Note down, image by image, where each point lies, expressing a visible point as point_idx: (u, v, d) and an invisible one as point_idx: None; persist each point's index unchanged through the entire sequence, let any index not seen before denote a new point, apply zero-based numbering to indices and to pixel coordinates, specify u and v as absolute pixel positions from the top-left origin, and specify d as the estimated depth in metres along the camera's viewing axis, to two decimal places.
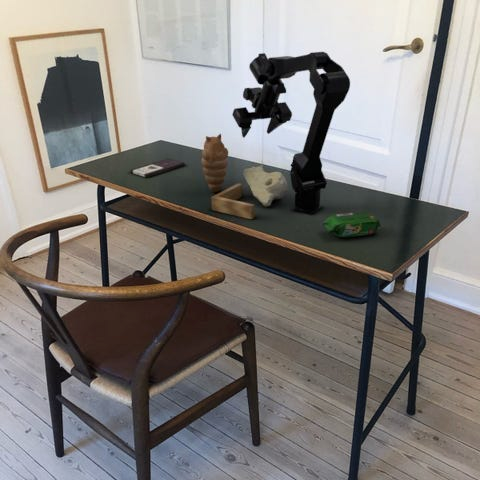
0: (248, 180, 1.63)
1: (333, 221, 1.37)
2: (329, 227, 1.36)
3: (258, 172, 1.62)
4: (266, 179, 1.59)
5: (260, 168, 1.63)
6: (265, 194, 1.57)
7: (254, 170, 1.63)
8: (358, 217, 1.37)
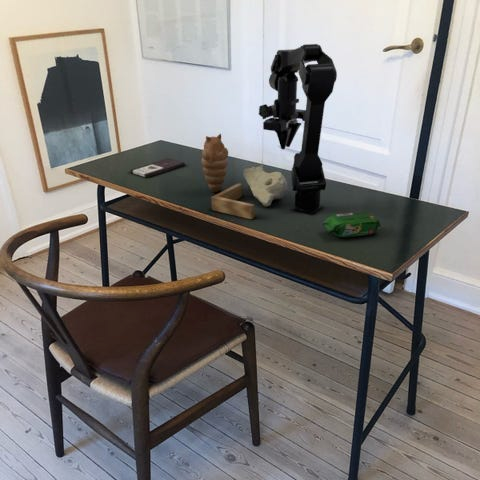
0: (248, 180, 1.63)
1: (333, 221, 1.37)
2: (329, 227, 1.36)
3: (258, 172, 1.62)
4: (266, 179, 1.59)
5: (260, 168, 1.63)
6: (265, 194, 1.57)
7: (254, 170, 1.63)
8: (358, 217, 1.37)
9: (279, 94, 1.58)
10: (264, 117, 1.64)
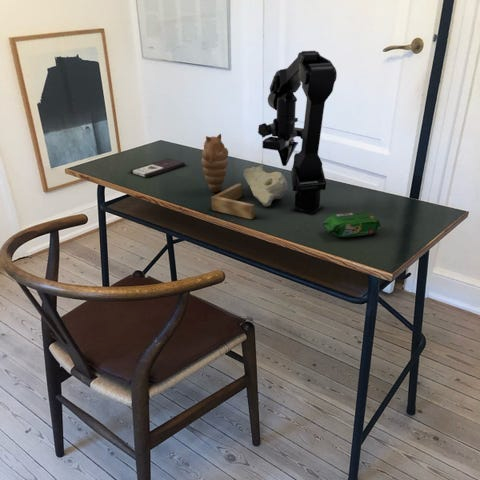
0: (248, 180, 1.63)
1: (333, 221, 1.37)
2: (329, 227, 1.36)
3: (258, 172, 1.62)
4: (266, 179, 1.59)
5: (260, 168, 1.63)
6: (265, 194, 1.57)
7: (254, 170, 1.63)
8: (358, 217, 1.37)
9: (278, 114, 1.61)
10: (263, 135, 1.67)
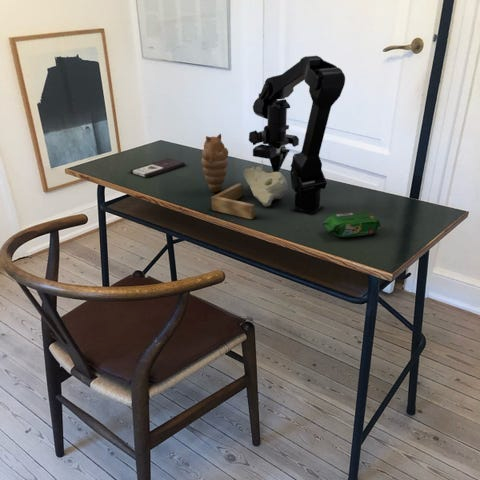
0: (248, 180, 1.63)
1: (333, 221, 1.37)
2: (329, 227, 1.36)
3: (258, 172, 1.62)
4: (266, 179, 1.59)
5: (260, 168, 1.63)
6: (265, 194, 1.57)
7: (254, 170, 1.63)
8: (358, 217, 1.37)
9: (270, 121, 1.57)
10: (254, 143, 1.64)
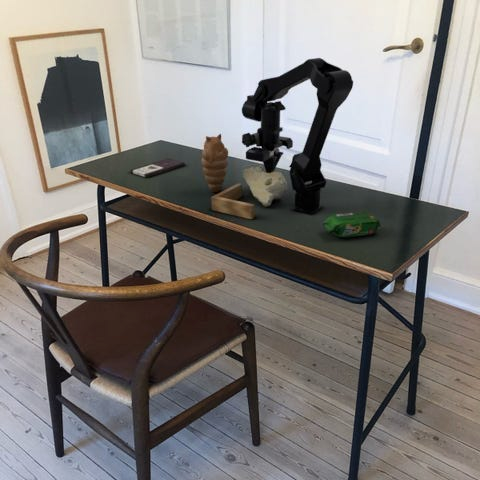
0: (247, 180, 1.63)
1: (333, 221, 1.37)
2: (329, 227, 1.36)
3: (257, 172, 1.62)
4: (266, 179, 1.59)
5: (259, 168, 1.62)
6: (265, 194, 1.57)
7: (253, 170, 1.63)
8: (358, 217, 1.37)
9: (265, 124, 1.54)
10: (247, 145, 1.61)
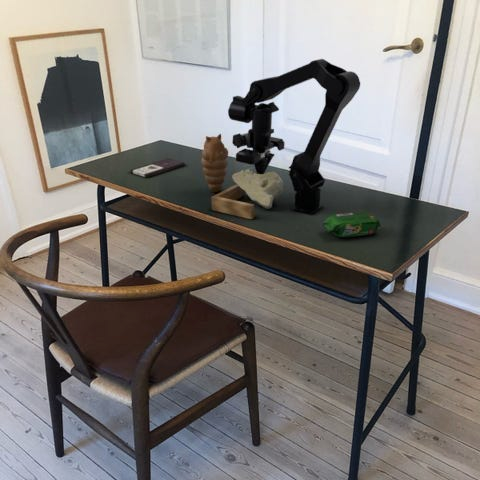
0: (241, 185, 1.60)
1: (333, 221, 1.37)
2: (329, 227, 1.36)
3: (250, 175, 1.59)
4: (261, 181, 1.57)
5: (250, 170, 1.60)
6: (264, 196, 1.55)
7: (244, 173, 1.60)
8: (358, 217, 1.37)
9: (258, 126, 1.50)
10: (238, 146, 1.58)
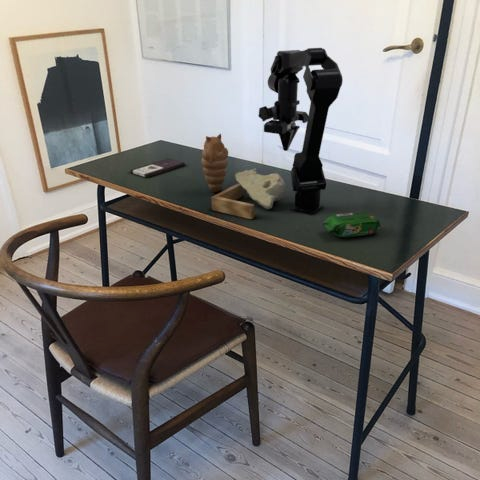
0: (243, 184, 1.60)
1: (333, 221, 1.37)
2: (329, 227, 1.36)
3: (253, 175, 1.59)
4: (263, 182, 1.57)
5: (254, 171, 1.60)
6: (266, 197, 1.55)
7: (248, 173, 1.60)
8: (358, 217, 1.37)
9: (280, 96, 1.55)
10: (264, 119, 1.61)
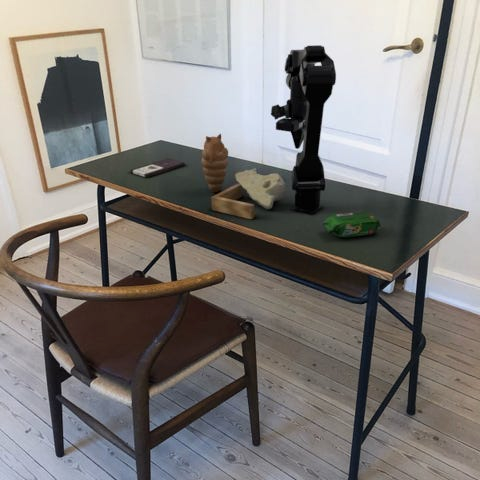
0: (243, 184, 1.60)
1: (333, 221, 1.37)
2: (329, 227, 1.36)
3: (253, 175, 1.59)
4: (263, 182, 1.57)
5: (254, 171, 1.60)
6: (266, 197, 1.55)
7: (248, 173, 1.60)
8: (358, 217, 1.37)
9: (291, 94, 1.58)
10: (276, 117, 1.64)
